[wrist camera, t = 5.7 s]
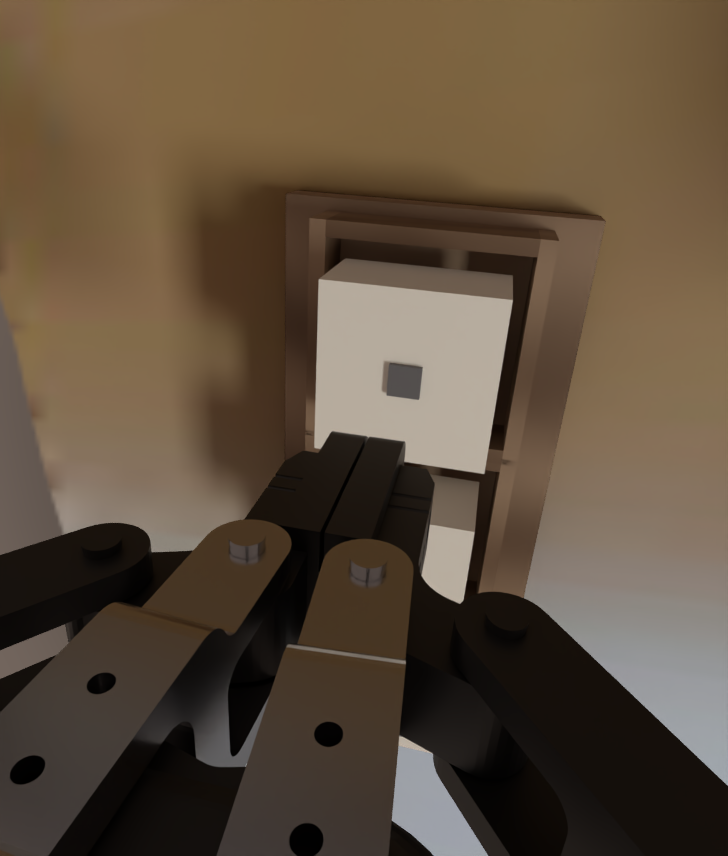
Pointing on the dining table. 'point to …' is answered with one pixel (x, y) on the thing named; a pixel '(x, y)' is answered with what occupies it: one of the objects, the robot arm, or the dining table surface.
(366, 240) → the brown tile tray
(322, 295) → the tile one
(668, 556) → the dining table surface
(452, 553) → the tile two
